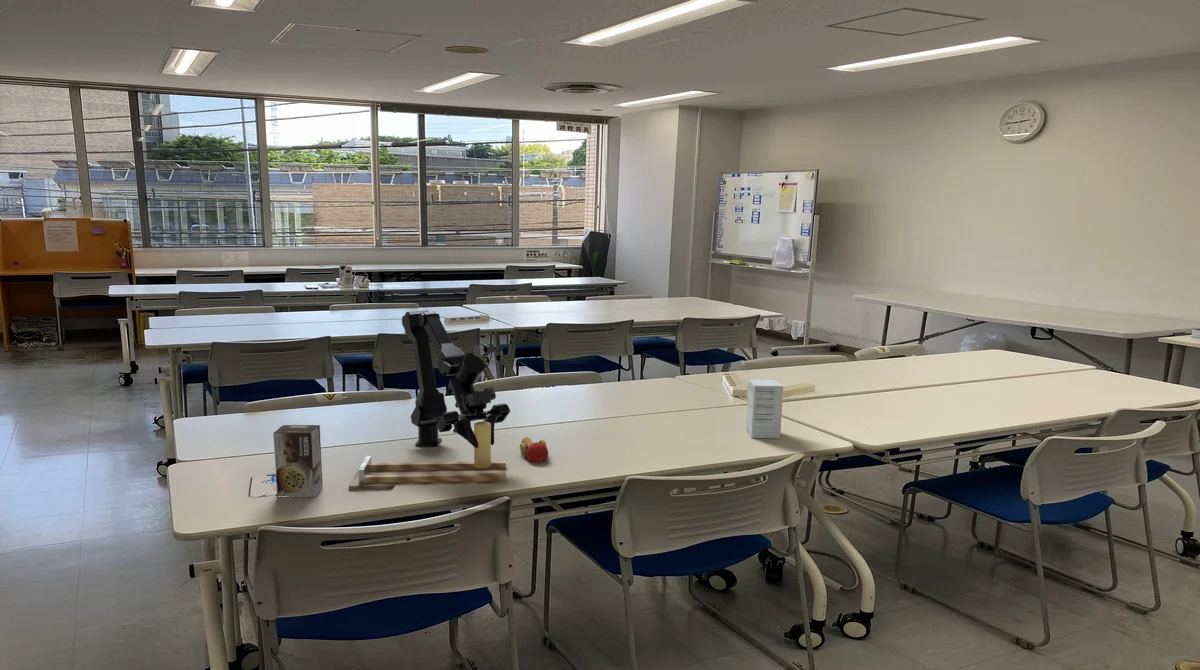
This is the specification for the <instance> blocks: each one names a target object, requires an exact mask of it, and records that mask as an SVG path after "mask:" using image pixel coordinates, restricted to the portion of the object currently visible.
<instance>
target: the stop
mask: <svg viewBox="0 0 1200 670" xmlns="http://www.w3.org/2000/svg"><path fill="white" fill-rule="evenodd" d="M371 463H372V455H366V456H365V458H364V459H363V461H362V463H361V465H360V466H359V467H360V468H358V469H359V483H364V476H365V475H369V473H370V471H371V466H370V465H371Z"/></svg>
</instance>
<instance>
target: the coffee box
mask: <svg viewBox="0 0 1200 670" xmlns="http://www.w3.org/2000/svg"><path fill="white" fill-rule="evenodd" d="M272 435H273V448H274V461H275V462H274V463H275V464H274V465H275V474H276V482H277V495H276V497H277V496H290V497H289V498H315V497H317V495H318V494H319V493H320V492H321V491H322V490H323V488H324V486H323V485H324V484H323V469H322V468H323V467H322V449H321V448H322V447H321V426H320V424H318V425H317V424H283V425H281V426H280V427H278V429H277V430H275V431H274V432H273V433H272ZM292 496H294V497H292Z"/></svg>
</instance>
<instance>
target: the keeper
mask: <svg viewBox="0 0 1200 670" xmlns="http://www.w3.org/2000/svg"><path fill="white" fill-rule="evenodd" d="M473 427H474V428H473V433H474V435H475V437H476V440H477V443H478V448H475V447H474V446H473V448H474V449H473V451H474V452H473V454H474V455H473V457H474V458H473V462H474V466H475V467H477V468H487V467H490V466H491V461H492V458H491V457H492V445H491V423H489V422H483V421H478V422H475V423H474V424H473Z"/></svg>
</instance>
